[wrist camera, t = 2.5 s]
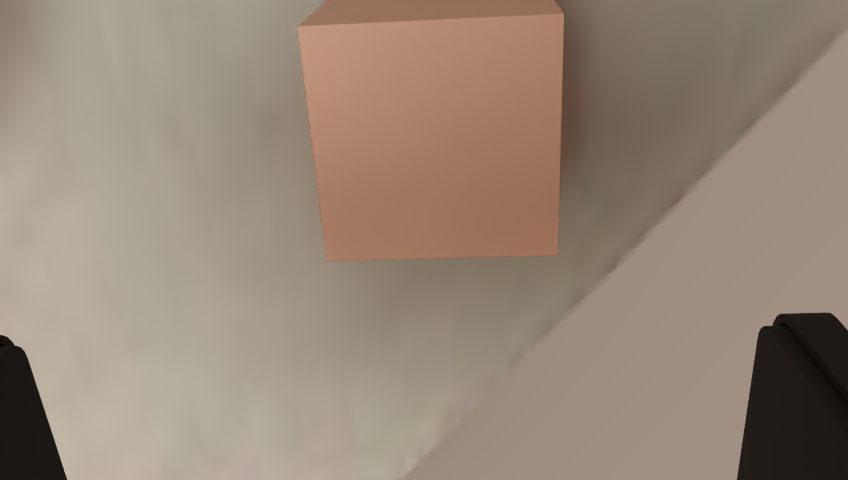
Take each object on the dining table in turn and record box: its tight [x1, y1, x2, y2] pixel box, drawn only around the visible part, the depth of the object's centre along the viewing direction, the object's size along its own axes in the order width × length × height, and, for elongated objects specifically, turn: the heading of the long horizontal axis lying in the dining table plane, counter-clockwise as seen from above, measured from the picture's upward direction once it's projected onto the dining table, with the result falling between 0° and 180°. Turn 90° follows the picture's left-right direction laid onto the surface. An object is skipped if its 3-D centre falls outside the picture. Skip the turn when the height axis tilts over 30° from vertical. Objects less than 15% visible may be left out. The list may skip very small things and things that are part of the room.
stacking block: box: [297, 0, 564, 261], centre depth 20 cm, size 6×6×5 cm
